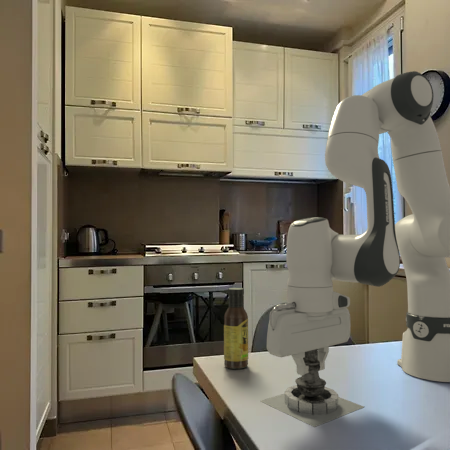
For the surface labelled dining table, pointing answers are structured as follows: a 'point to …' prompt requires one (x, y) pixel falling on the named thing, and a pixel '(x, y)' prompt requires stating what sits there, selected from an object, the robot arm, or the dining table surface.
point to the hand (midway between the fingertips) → (310, 371)
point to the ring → (311, 402)
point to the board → (312, 420)
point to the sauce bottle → (235, 331)
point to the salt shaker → (311, 379)
